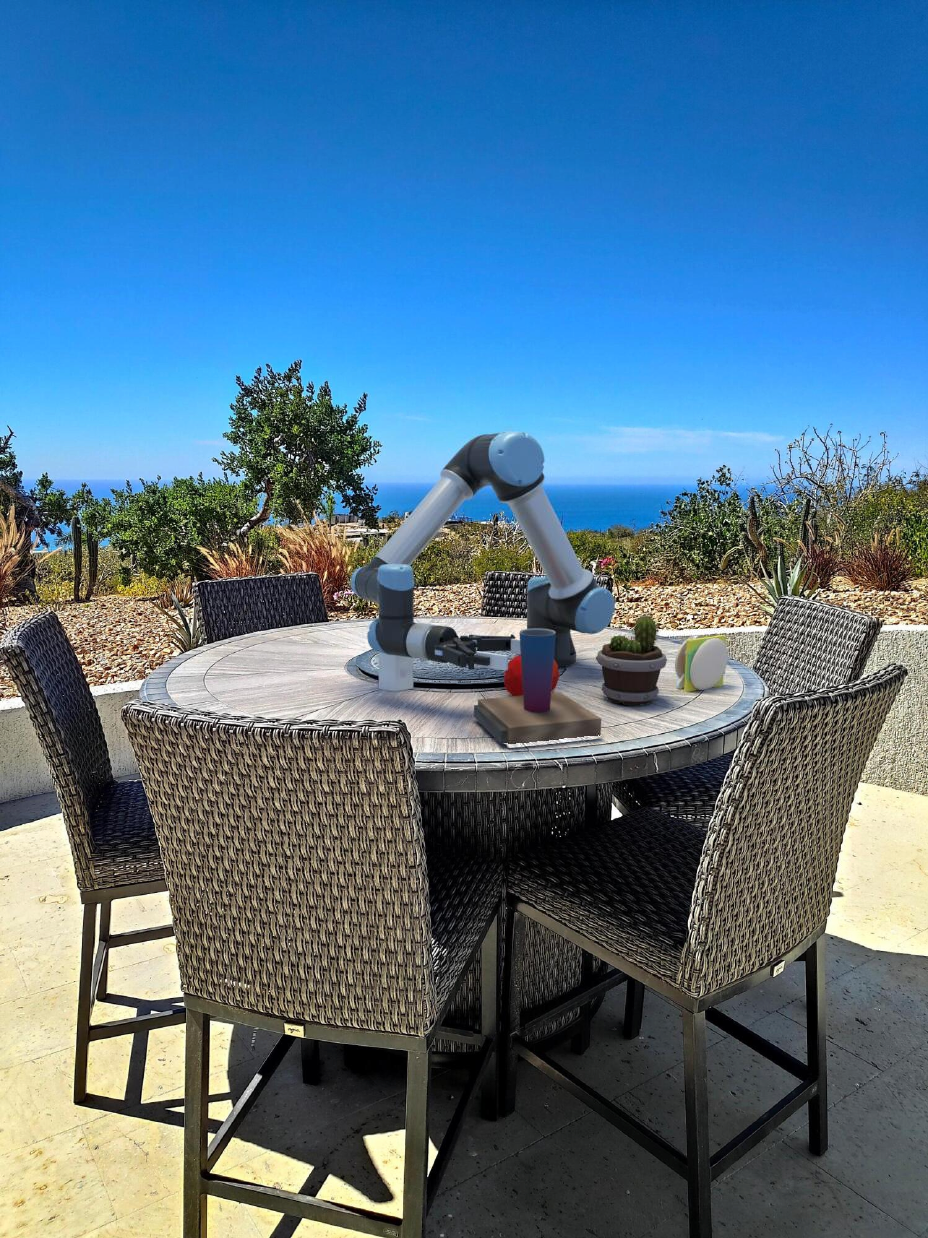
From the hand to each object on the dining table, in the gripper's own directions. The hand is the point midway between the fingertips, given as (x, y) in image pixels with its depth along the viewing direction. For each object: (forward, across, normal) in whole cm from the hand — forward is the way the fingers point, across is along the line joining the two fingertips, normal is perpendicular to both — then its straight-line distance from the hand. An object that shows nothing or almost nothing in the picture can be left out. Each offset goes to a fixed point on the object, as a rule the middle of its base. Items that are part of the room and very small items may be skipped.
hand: (524, 656), depth 137 cm
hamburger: (+21, -48, -14) cm, 54 cm away
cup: (+3, 0, -10) cm, 11 cm away
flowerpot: (+11, -28, -14) cm, 34 cm away
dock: (+3, 0, -14) cm, 14 cm away
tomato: (-8, -18, -14) cm, 25 cm away
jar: (-38, -9, -14) cm, 42 cm away
